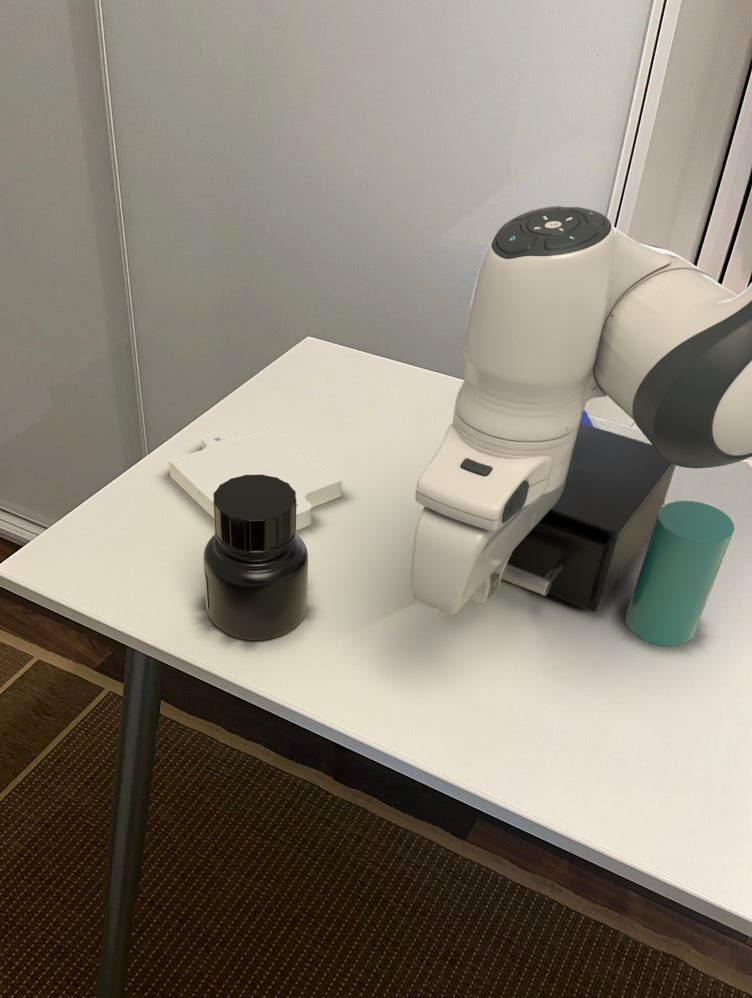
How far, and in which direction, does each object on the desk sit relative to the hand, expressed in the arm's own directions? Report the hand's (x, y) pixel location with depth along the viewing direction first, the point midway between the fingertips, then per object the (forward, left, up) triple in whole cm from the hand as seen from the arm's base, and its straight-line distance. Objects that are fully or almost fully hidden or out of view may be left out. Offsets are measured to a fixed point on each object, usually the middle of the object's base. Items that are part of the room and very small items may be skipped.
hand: (481, 593), depth 80 cm
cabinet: (-1, -17, -5) cm, 18 cm away
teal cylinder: (-13, -11, -5) cm, 17 cm away
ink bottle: (+17, +8, -5) cm, 20 cm away
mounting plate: (+29, -8, -5) cm, 31 cm away
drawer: (-1, -13, -4) cm, 14 cm away
